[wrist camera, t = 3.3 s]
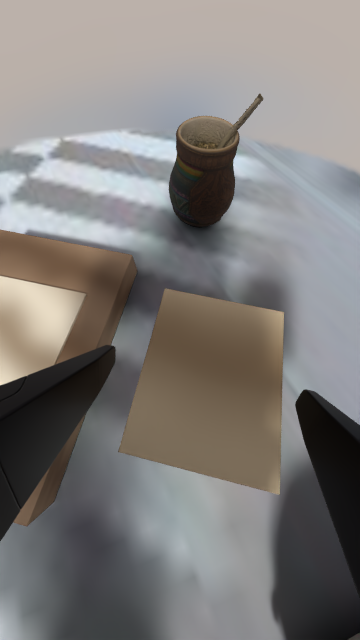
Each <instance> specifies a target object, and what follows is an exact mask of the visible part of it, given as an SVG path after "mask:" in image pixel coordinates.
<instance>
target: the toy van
mask: <svg viewBox="0 0 360 640" xmlns="http://www.w3.org/2000/svg"><path fill="white" fill-rule="evenodd" d="M348 640H360V633H358V634H356V635H355V636H353V637H351V638H350V639H348Z"/></svg>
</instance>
